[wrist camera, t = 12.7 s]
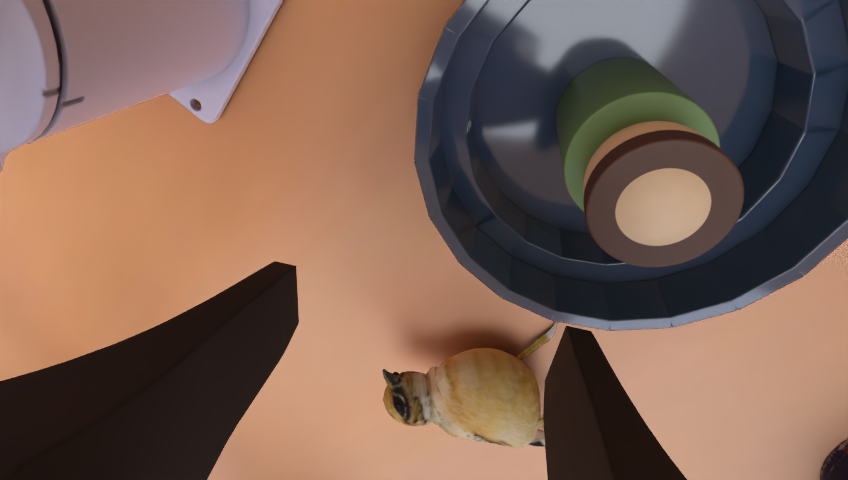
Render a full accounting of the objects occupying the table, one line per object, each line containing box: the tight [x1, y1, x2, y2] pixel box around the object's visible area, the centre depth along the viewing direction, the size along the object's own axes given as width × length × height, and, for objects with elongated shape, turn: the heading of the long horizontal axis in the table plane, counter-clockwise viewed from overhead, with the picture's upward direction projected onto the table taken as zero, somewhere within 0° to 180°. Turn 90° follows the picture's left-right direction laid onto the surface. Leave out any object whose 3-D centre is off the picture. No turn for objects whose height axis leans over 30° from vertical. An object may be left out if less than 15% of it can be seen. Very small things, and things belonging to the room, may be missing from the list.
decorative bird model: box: [383, 321, 558, 447], centre depth 24 cm, size 4×13×10 cm
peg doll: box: [556, 58, 744, 267], centre depth 13 cm, size 4×4×8 cm
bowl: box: [414, 0, 848, 331], centre depth 15 cm, size 13×13×5 cm
